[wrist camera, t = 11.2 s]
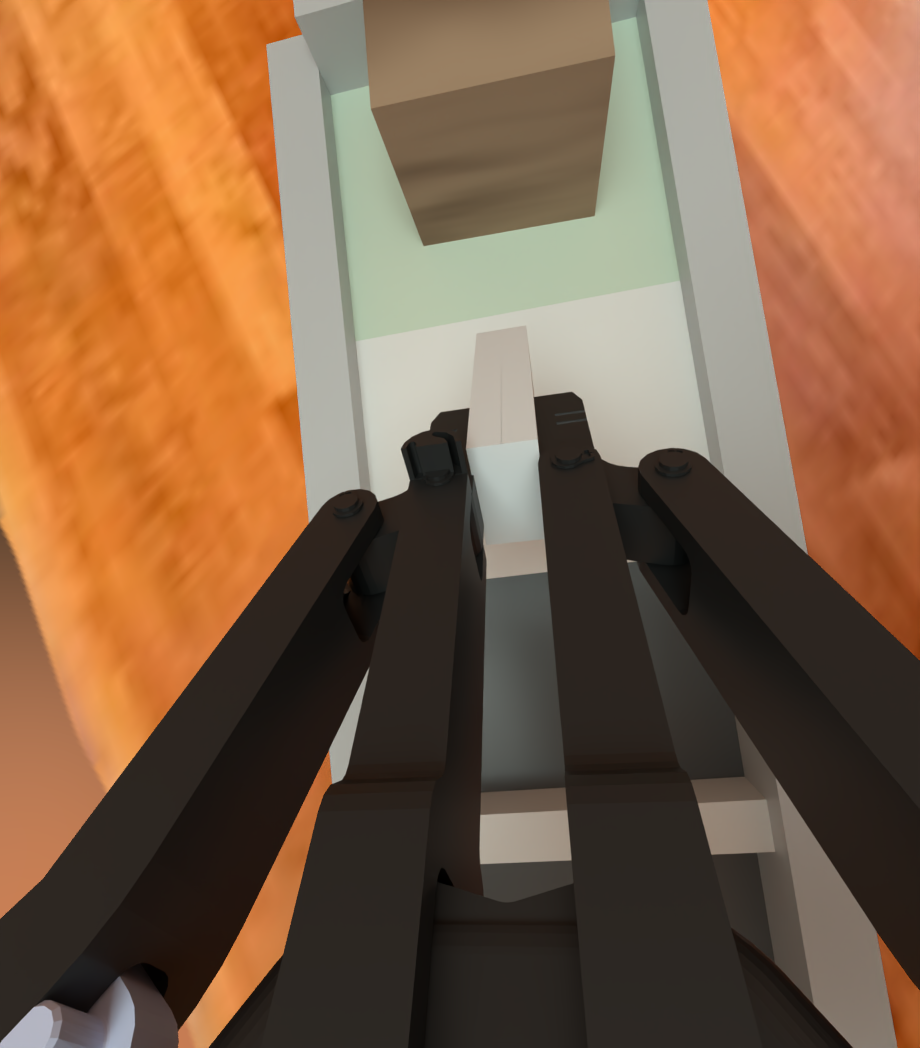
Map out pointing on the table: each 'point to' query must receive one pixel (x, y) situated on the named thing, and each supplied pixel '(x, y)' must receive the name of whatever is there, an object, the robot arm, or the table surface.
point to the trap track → (614, 421)
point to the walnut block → (491, 109)
